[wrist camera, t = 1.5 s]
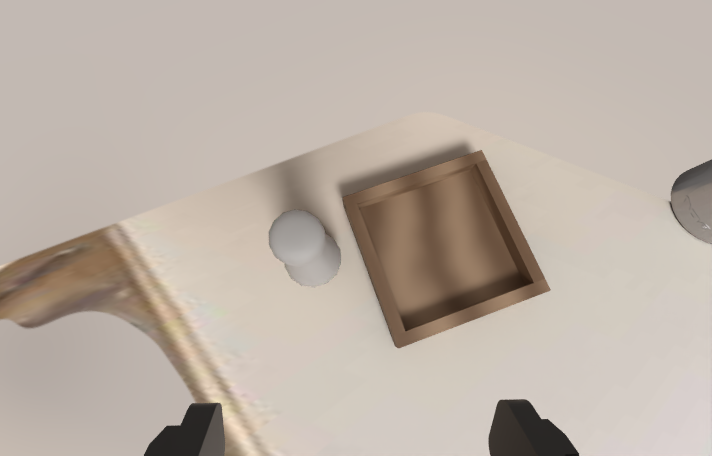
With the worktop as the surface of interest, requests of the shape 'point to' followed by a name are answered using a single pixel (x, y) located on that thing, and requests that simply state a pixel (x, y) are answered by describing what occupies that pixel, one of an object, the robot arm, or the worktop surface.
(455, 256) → the walnut tray
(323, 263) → the salt shaker
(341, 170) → the worktop surface
